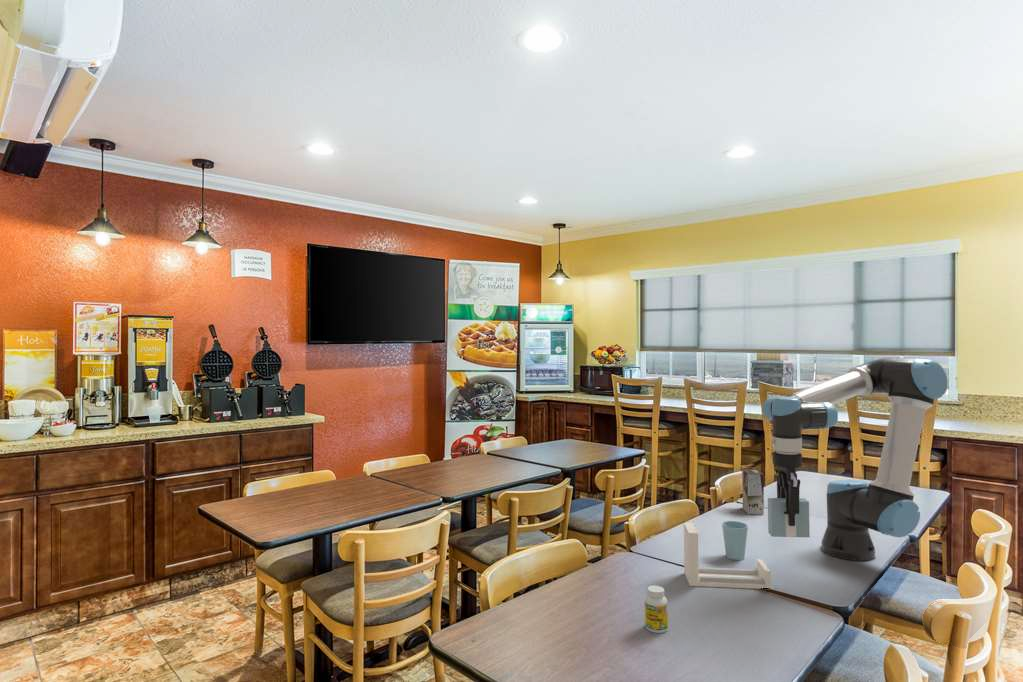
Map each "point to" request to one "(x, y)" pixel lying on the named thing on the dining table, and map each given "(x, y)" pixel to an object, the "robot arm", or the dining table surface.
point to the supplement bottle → (656, 610)
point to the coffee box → (753, 491)
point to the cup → (735, 539)
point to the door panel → (778, 517)
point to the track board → (720, 569)
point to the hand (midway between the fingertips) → (788, 533)
